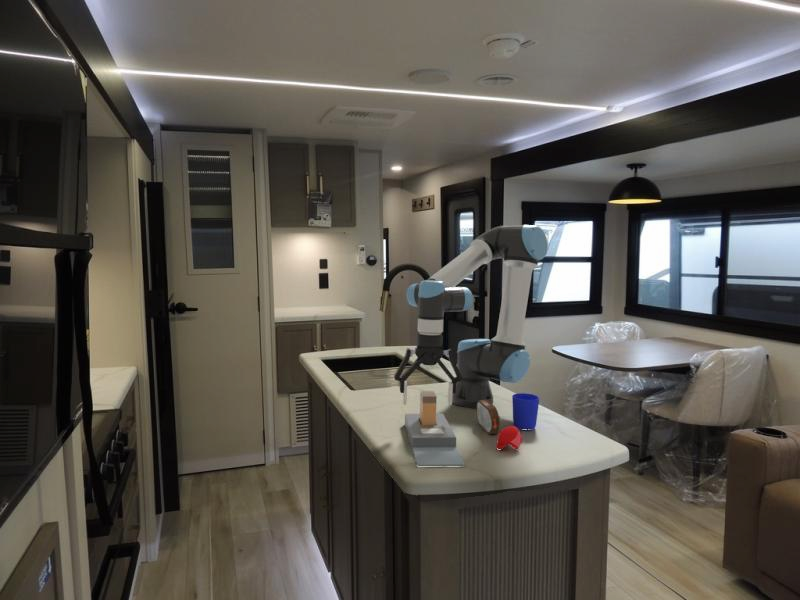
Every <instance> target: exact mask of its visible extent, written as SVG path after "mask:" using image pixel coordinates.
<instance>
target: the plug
mask: <svg viewBox="0 0 800 600" xmlns="http://www.w3.org/2000/svg"><path fill="white" fill-rule="evenodd" d="M419 397H420V398H419V414H420V424H421V425H436V414H437V395H436V393H435V391H433V390H431V391H430V390H429V391H425V390H423V391H422V390H421V391H420V396H419Z"/></svg>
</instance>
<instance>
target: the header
mask: <svg viewBox="0 0 800 600" xmlns="http://www.w3.org/2000/svg"><path fill="white" fill-rule="evenodd" d="M404 427H405V430H406V433H407V437H408V439H409V443H411V444H410V447H411V450H412V451H413V447H456V448H457V436H456V434H455V432H454V431H453V429H452V427H451V425H450V424H449V422H448V420H447V418H446V416H445V415H444V413H436V425H421V424H420V413H404Z"/></svg>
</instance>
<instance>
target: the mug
mask: <svg viewBox="0 0 800 600" xmlns="http://www.w3.org/2000/svg"><path fill="white" fill-rule="evenodd" d="M511 397H512V400H511V401H512V402H511V403H512V423H513V426H515V427H516V428H518V429H519V430H520V429H527V430H526V431H529V430H528V429H533V430H534V429H536V427H537V420H538V414H539V413H538V412H539V406H540V405H539V404H540V397H539V396H538V395H537V394H536V395H535V394H532V393H525V392H520V393H515V394H512V396H511Z"/></svg>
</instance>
